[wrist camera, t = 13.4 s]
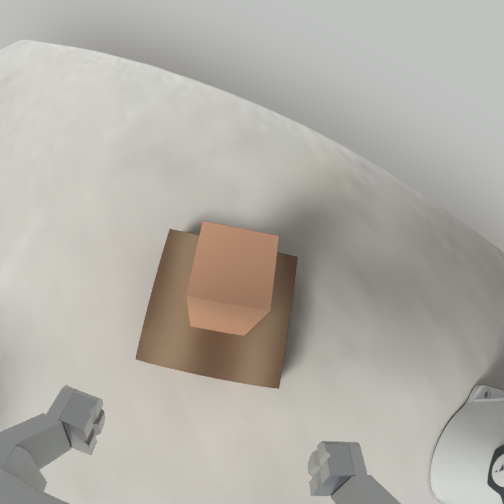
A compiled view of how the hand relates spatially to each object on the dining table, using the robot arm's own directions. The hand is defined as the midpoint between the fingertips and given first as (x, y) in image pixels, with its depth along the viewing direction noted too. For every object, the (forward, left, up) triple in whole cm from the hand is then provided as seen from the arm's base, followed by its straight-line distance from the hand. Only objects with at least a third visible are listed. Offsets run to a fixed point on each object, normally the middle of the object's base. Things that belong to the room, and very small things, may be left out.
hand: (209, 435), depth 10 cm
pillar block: (0, -8, -15) cm, 17 cm away
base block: (0, -8, -19) cm, 20 cm away
